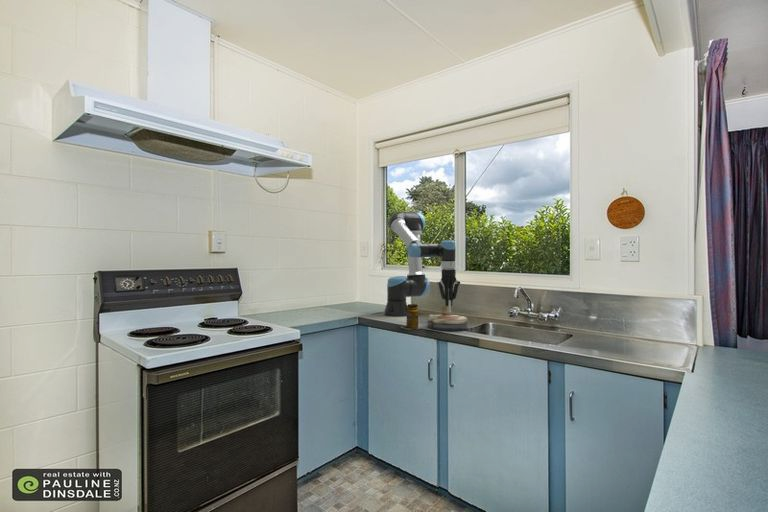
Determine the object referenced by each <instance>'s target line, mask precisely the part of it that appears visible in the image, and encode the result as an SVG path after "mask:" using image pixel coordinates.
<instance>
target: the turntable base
mask: <svg viewBox="0 0 768 512" xmlns="http://www.w3.org/2000/svg"><path fill="white" fill-rule="evenodd" d="M432 315H433V314H429V316H432ZM429 316H428V317H429ZM427 328H429V329H431V330H436V331H439V332H440V331H442V332H461V331H466V330H468V329H469V321H467V323H463V324H438V323H433V322H430V321H429V319H428V320H427Z"/></svg>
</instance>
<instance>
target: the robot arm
mask: <svg viewBox="0 0 768 512" xmlns="http://www.w3.org/2000/svg"><path fill="white" fill-rule="evenodd" d="M388 226H389V228H390V230H391V231H392V232H393V233H395V234H396V235H397V236H398V237H399V238H400V240H401V241H402V242H403V243H404V245H405V246H406V248H407V261H408V273H407V275H399V276H392V277H389V278H387V285H386V287H387V289H386V290H387V292H386V293H387V294H386V295H387V296H386V297H387V298H386V299H387V302H386V305H385V308H384V311H383V312H384V315H386V316H388V317H407V309H408V308H407V307H408V306H407V305H408V302H407V298H411V297H412V298H414V297H415V298H416V297H417V298H418V297H424V296H427V294H429V290H430V283H431V282H430V280H429V279H428V277H426V274H425V273H424V272H423V260H422V259H423V258H441V279H440V280H439V281H437V283H436V284H437V285H438V289H439V292H440V296H441V299H442V300H444V302H445V303H444V306H447V313H448V314H449V313H452V307H453V301H454V300H455V299H457V294H458V289H459V286H460V285H461V282H460V281H459V280H457V277H456V275H457V274H456V272H457V271H456V248H457V247H456V242H455V240H442V241H441V242H440V243H422V241H421V235H422V233H423V231H424V229H425V227H426V220H425V217H424V215H423V214H422V213H421V212H417V211H396V212H394V213H393V214H392V215H391V216H390V218H389V219H388Z"/></svg>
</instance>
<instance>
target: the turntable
mask: <svg viewBox="0 0 768 512" xmlns="http://www.w3.org/2000/svg"><path fill="white" fill-rule="evenodd" d="M447 313H448V312H447V306H446V305H442V306H441V314H431V315H432V316H428V320H429V321H430V322H433V323H438V324H463V323H467V321H468V320H469V319H468V317H466V316H464V315H457V314H456V315H455V314H447ZM468 322H469V321H468Z"/></svg>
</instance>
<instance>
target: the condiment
mask: <svg viewBox="0 0 768 512" xmlns="http://www.w3.org/2000/svg"><path fill="white" fill-rule="evenodd" d="M407 306H408V307H407V308H408V309H407V316H406V326H405V325H404V326H400V328H402V329H405V330H409V331H410V330H417V329H421V327H419V307H418V304H416V303H407Z"/></svg>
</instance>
